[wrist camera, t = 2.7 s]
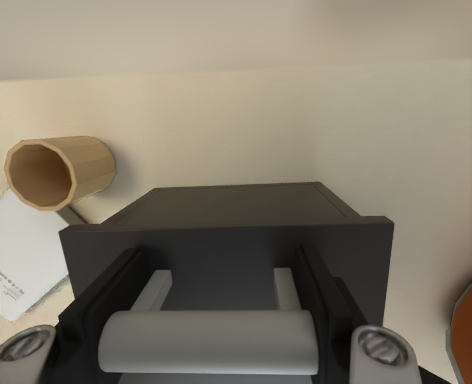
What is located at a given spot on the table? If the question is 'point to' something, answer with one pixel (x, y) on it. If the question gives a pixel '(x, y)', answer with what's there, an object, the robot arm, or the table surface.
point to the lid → (226, 294)
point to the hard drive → (29, 253)
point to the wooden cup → (58, 170)
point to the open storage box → (234, 203)
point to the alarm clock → (461, 338)
